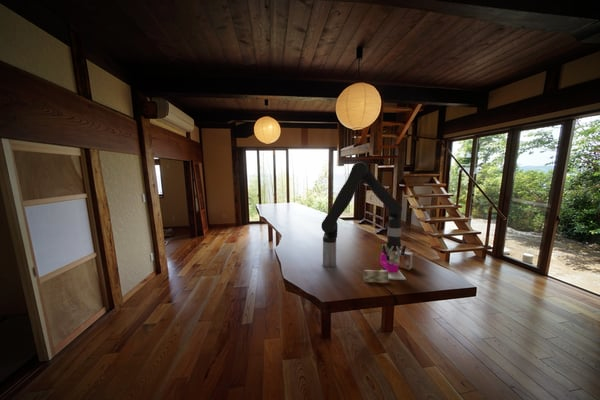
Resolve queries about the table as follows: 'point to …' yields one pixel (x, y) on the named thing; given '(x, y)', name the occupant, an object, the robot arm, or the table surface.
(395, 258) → the birch cube
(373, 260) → the table surface
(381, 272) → the screen
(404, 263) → the small box
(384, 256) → the toy block
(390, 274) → the pad
